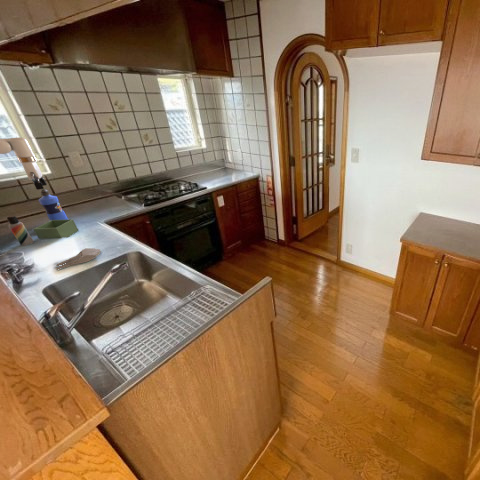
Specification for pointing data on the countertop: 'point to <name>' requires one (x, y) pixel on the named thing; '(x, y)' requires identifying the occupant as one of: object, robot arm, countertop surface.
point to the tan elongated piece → (80, 257)
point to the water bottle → (52, 206)
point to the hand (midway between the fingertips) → (42, 187)
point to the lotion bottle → (19, 231)
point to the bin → (56, 229)
